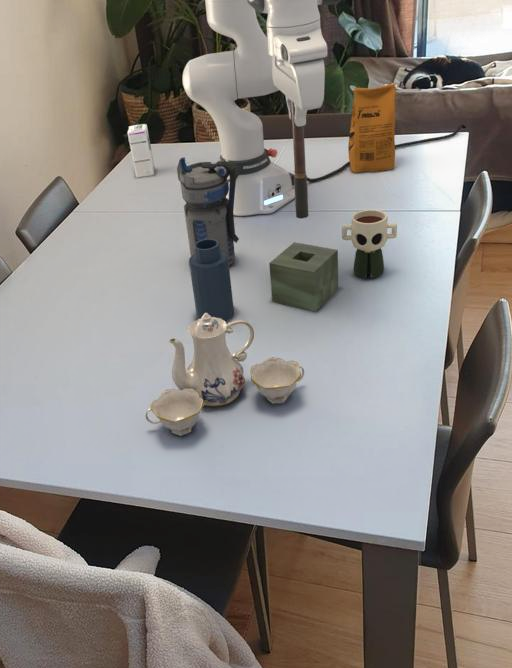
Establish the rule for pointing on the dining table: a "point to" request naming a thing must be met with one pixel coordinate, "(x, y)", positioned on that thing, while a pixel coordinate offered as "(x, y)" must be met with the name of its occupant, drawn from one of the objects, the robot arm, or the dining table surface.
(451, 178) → the dining table surface
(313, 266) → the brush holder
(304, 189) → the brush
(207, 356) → the chinaware
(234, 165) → the robot arm
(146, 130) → the syrup box
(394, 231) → the character mug
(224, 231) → the beverage bottle
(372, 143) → the coffee package
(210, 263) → the steel bottle
